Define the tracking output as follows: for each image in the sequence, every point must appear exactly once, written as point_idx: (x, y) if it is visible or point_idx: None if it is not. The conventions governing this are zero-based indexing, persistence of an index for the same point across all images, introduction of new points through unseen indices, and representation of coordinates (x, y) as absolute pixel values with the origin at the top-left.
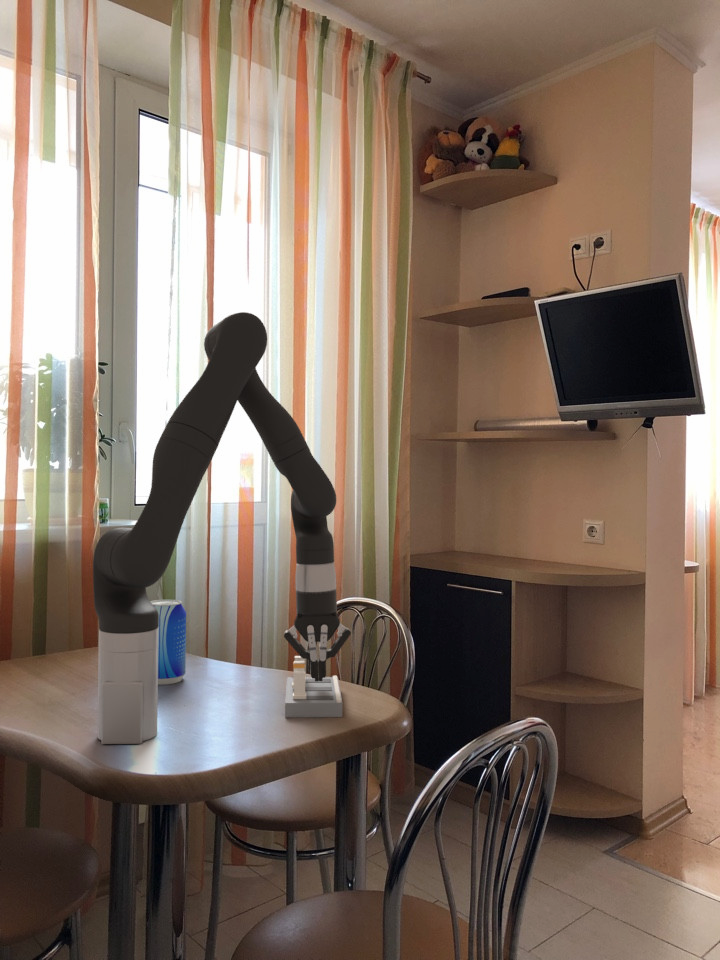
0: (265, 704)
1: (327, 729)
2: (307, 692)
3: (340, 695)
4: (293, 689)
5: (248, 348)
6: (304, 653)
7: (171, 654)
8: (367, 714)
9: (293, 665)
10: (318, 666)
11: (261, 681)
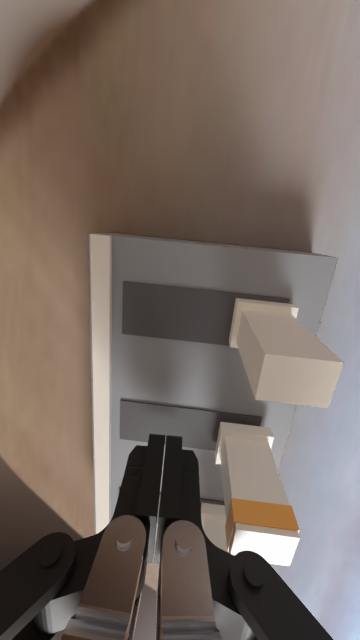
0: (340, 403)
1: (176, 66)
2: (214, 392)
3: (92, 338)
4: None
5: None
6: (250, 594)
7: None
8: (22, 254)
9: (294, 521)
10: (159, 491)
11: (298, 583)
